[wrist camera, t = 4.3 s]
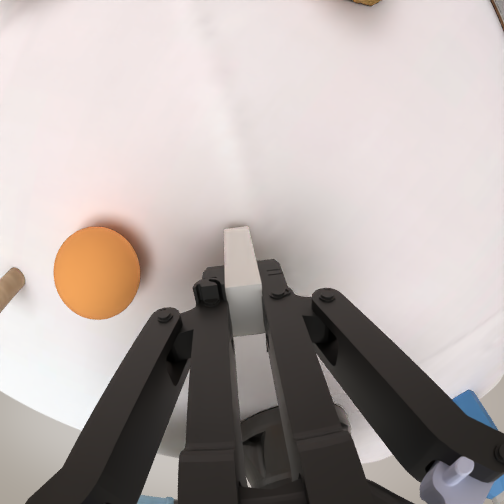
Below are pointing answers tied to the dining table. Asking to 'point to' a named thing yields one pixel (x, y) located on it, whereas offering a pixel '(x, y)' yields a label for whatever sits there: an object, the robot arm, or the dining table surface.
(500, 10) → the tin
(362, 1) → the figurine
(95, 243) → the ball
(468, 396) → the water bottle
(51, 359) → the dining table surface
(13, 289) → the pin
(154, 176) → the dining table surface
